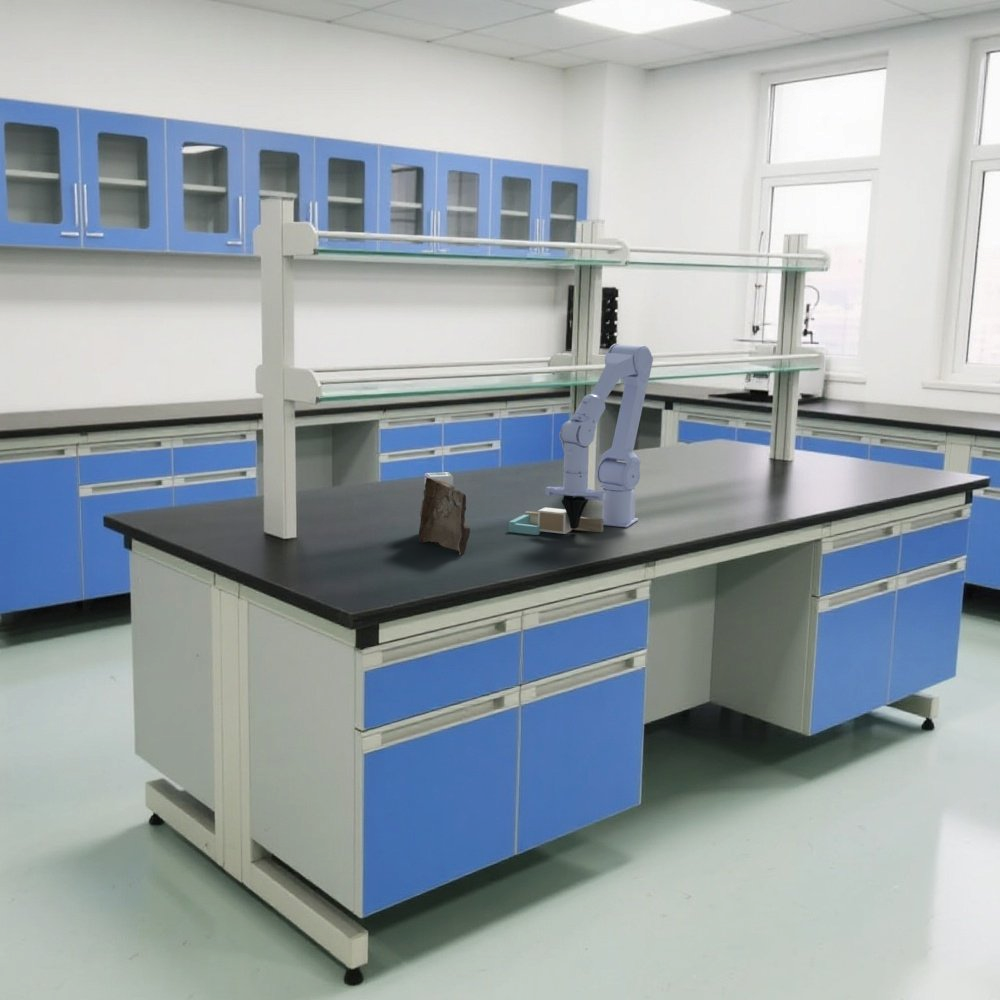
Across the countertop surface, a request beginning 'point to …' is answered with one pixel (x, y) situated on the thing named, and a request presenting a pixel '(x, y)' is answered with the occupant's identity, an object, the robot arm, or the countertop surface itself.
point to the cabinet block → (553, 520)
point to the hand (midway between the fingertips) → (574, 527)
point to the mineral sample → (444, 516)
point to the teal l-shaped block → (523, 526)
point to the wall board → (584, 522)
